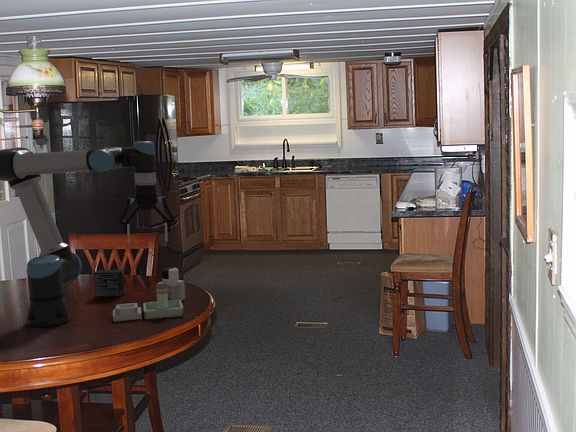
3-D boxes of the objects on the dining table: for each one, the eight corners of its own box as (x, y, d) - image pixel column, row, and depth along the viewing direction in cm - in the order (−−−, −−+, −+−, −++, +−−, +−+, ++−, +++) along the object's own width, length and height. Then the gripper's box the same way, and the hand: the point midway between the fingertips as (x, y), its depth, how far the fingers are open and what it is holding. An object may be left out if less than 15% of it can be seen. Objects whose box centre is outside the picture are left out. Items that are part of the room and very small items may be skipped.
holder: (113, 321, 276) (112, 310, 276) (113, 314, 286) (112, 304, 286) (141, 318, 278) (140, 308, 278) (141, 312, 288) (140, 301, 287)
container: (157, 302, 302) (155, 269, 301) (169, 298, 309) (167, 266, 307) (173, 304, 299) (171, 271, 297) (185, 299, 306) (183, 267, 304)
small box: (125, 293, 320) (123, 268, 319) (120, 297, 314) (118, 272, 313) (100, 294, 322) (98, 269, 320) (95, 298, 315) (93, 272, 314)
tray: (144, 319, 277) (144, 311, 277) (143, 310, 291) (143, 302, 291) (183, 315, 280) (183, 308, 280) (181, 306, 294) (180, 299, 293)
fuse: (157, 313, 283) (156, 286, 282) (157, 310, 287) (155, 284, 286) (169, 312, 284) (167, 285, 283) (168, 309, 288) (167, 283, 287)
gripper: (110, 186, 275) (112, 245, 278) (180, 183, 280) (182, 241, 283) (110, 184, 283) (113, 241, 285) (179, 182, 287) (181, 238, 290)
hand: (147, 241), depth 284 cm, fingers open, 13 cm apart
